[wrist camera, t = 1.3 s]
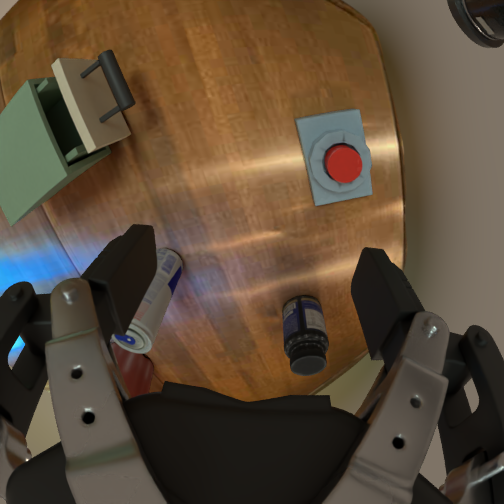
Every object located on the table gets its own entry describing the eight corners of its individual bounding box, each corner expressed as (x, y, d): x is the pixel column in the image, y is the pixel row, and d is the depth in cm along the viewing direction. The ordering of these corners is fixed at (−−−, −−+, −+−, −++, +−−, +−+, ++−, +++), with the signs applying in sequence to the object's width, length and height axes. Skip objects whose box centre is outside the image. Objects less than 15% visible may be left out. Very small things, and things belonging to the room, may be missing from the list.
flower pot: (132, 382, 59) (114, 435, 46) (84, 342, 52) (57, 397, 38) (178, 374, 54) (162, 438, 41) (125, 327, 47) (93, 396, 34)
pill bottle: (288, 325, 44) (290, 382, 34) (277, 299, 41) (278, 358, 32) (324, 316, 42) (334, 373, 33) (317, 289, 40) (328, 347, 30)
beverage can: (149, 268, 39) (108, 344, 26) (154, 240, 37) (106, 316, 24) (180, 279, 40) (149, 360, 27) (188, 252, 37) (153, 335, 25)
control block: (293, 118, 27) (297, 121, 24) (353, 108, 26) (365, 110, 23) (312, 199, 32) (318, 212, 29) (366, 188, 31) (378, 200, 28)
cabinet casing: (77, 75, 24) (27, 79, 16) (111, 152, 30) (67, 175, 22) (20, 133, 27) (-23, 151, 19) (50, 198, 33) (11, 226, 25)
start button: (321, 148, 26) (324, 151, 24) (354, 142, 25) (359, 145, 23) (327, 180, 27) (331, 186, 26) (359, 174, 27) (364, 179, 25)
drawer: (126, 40, 21) (89, 31, 15) (161, 117, 27) (130, 125, 20) (34, 118, 26) (-4, 130, 19) (63, 181, 31) (29, 204, 25)
